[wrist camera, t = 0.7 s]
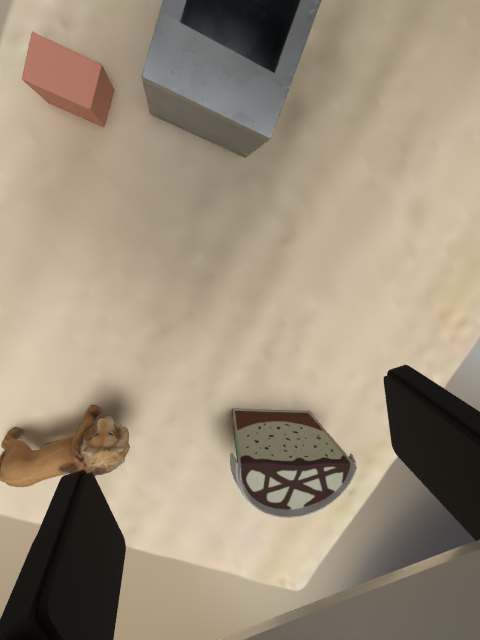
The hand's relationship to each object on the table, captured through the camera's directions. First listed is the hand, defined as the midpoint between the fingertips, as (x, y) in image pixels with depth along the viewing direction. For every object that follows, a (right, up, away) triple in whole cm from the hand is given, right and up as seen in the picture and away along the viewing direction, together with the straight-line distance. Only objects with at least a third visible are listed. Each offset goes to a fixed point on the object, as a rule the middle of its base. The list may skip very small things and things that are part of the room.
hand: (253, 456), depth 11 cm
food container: (+3, -9, +32) cm, 33 cm away
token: (-14, +23, +19) cm, 32 cm away
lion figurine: (-18, -7, +27) cm, 33 cm away
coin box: (-2, +26, +20) cm, 33 cm away
